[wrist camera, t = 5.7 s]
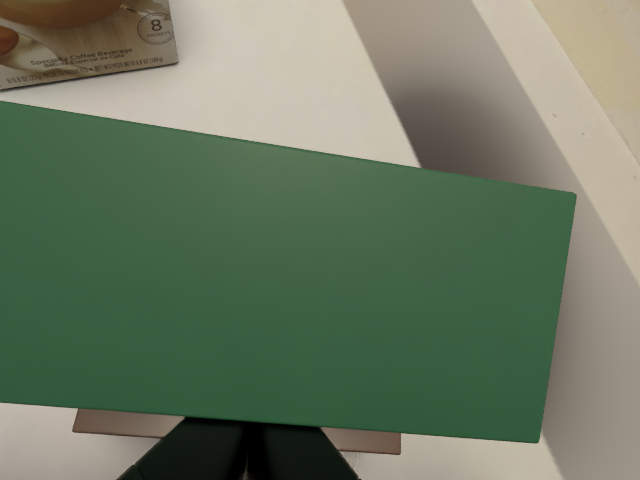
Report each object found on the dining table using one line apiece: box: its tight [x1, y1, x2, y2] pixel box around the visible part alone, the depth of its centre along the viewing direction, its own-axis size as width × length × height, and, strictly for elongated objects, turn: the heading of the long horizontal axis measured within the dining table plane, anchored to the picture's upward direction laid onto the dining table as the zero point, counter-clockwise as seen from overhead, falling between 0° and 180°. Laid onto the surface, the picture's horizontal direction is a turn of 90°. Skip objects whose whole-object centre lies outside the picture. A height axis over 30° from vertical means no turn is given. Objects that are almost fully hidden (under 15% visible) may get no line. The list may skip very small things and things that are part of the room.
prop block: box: [72, 408, 401, 455], centre depth 15 cm, size 4×10×4 cm, turn 86°
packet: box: [0, 101, 576, 443], centre depth 12 cm, size 4×9×13 cm, turn 86°
